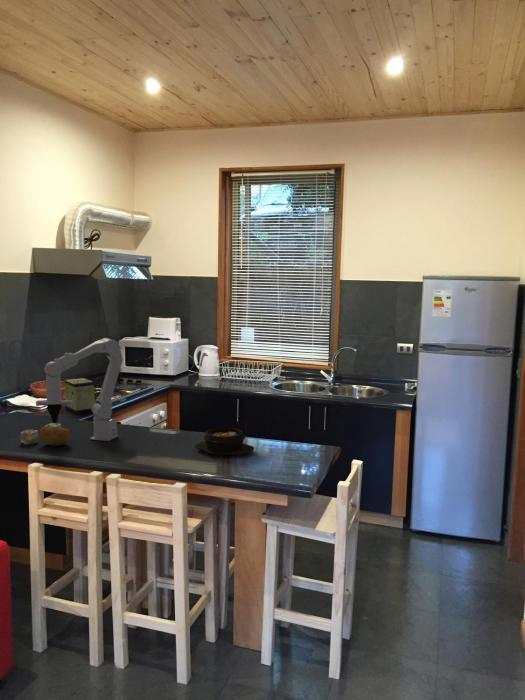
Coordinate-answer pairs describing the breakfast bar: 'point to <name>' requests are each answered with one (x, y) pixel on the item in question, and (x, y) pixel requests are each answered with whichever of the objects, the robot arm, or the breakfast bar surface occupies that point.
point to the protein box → (79, 394)
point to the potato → (55, 435)
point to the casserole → (224, 442)
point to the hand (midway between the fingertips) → (55, 422)
